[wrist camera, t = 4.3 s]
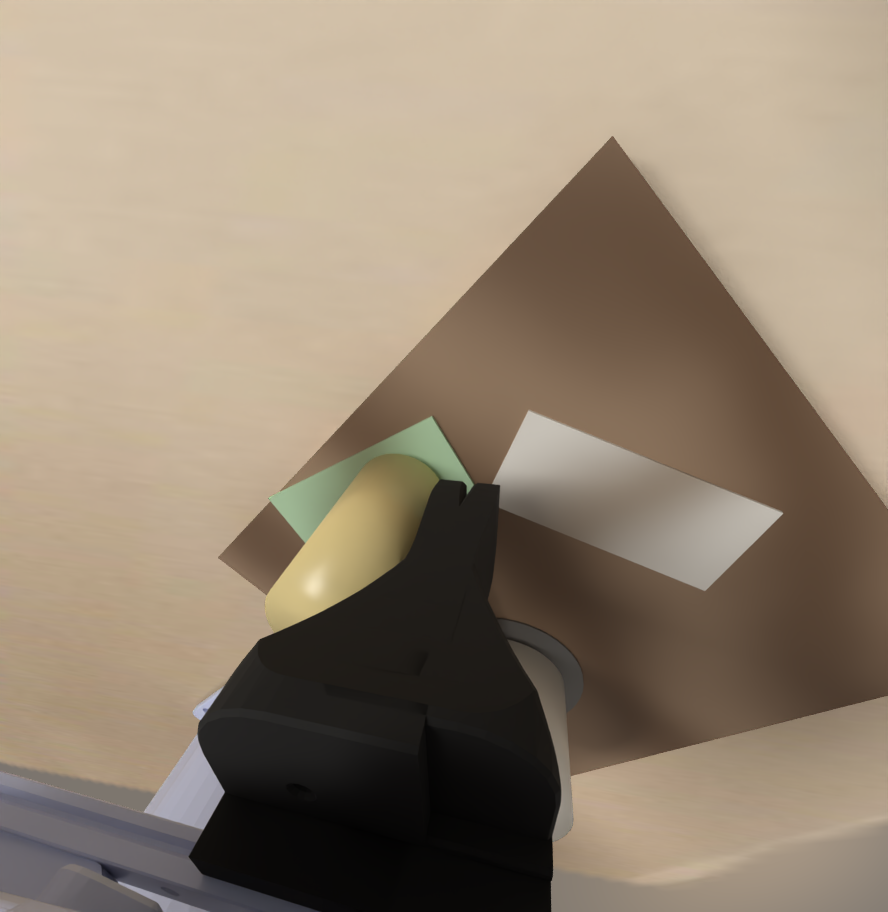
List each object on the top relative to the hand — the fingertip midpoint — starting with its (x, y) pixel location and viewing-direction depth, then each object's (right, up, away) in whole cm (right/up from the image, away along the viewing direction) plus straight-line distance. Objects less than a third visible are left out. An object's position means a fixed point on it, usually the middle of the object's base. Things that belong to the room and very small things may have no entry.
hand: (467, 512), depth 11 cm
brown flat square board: (+3, -3, +4) cm, 6 cm away
